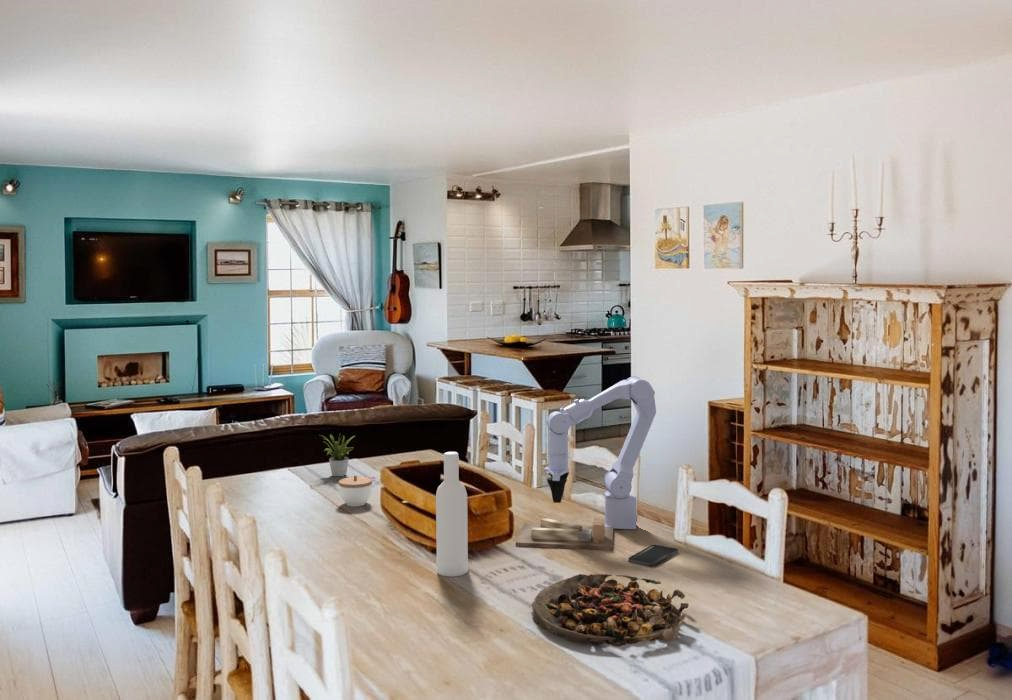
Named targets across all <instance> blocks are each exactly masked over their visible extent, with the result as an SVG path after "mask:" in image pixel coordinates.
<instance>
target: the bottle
mask: <svg viewBox="0 0 1012 700" xmlns="http://www.w3.org/2000/svg"><path fill="white" fill-rule="evenodd" d="M442 460H443V481H442V482H441V484H440V485H438V487H437V489H436V492H435V493H436V494H435V519H436V520H435V522H436V529H435V530H436V531H435V534H436V559H435V563H436V565H435V566H436V573H437V574H438V575H439V576H442V577H447V578H448V577H460V576H463V575H465V574H467V573H468V571H469V558H468V557H469V555H468V554H469V553H468V551H469V550H468V549H469V546H468V545H469V544H468V542H469V541H468V537H469V536H468V531H469V530H468V529H469V528H468V493H467V490H466V487H465V485H464V484H463V483H462V482H461V481H460V478H459V474H460V473H459V471H460V470H459V469H460V467H459V461H460V458H459V453H458V452H457V451H447V452H444V453H443V459H442Z"/></svg>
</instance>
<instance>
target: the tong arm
mask: <svg viewBox="0 0 1012 700" xmlns="http://www.w3.org/2000/svg"><path fill="white" fill-rule="evenodd" d="M540 524H541V528H559V529H579V531H582V526H583V525H580V524H575V523H571V522H566V521H561V520H556V519H552V518H548V517H547V518H546V517H543V518H541V519H540Z"/></svg>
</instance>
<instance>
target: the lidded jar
mask: <svg viewBox="0 0 1012 700" xmlns="http://www.w3.org/2000/svg"><path fill="white" fill-rule="evenodd" d="M372 490H373V479H372V478H370V477H367V476H358V475H356V474H354V475H353V476H350V477H345V478H341V479H340V480H338V491H339V495H340V498H341V501H342V502H344V504H345V505H346V506H348V507H362V506H365V505H366V503H367V502H368V501H369V499H371V495H372Z"/></svg>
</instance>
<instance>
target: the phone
mask: <svg viewBox="0 0 1012 700" xmlns="http://www.w3.org/2000/svg"><path fill="white" fill-rule="evenodd" d="M677 554H679V549H678V548H675V547H670V546H666V545H661V544H651V545H649V546H648V547H645V548H644V549H642V550H640V551H638V552H637V553H635V554H633V555H631V556H629V557H628V559H627V560H628V562H629V563H631V564H636V565H640V566H646V567H650V568H655V567H657V565H658V566H659V565H662V562H663V563H664V562H665V561H668V560H669V559H671V558H672V557H674V556H676V555H677Z"/></svg>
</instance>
